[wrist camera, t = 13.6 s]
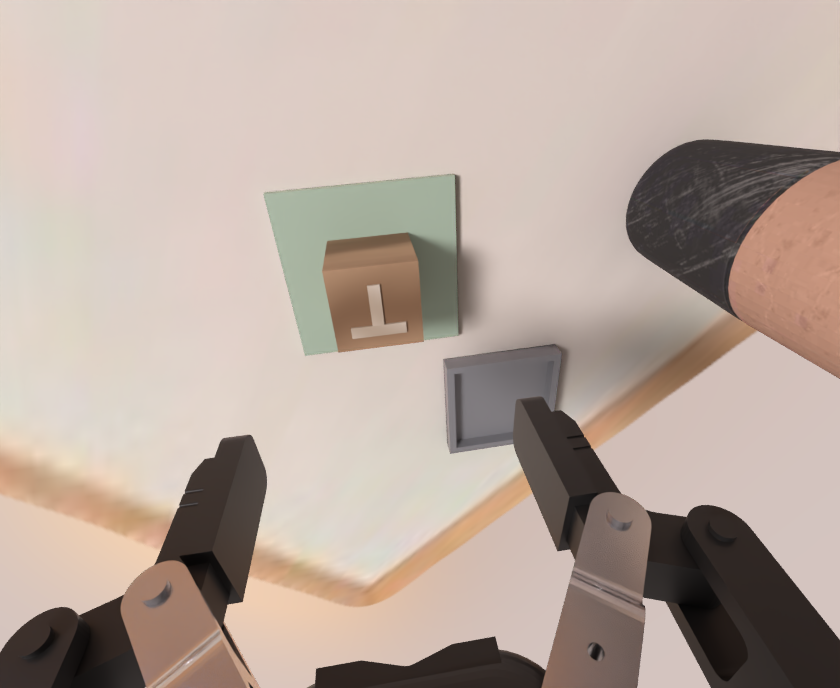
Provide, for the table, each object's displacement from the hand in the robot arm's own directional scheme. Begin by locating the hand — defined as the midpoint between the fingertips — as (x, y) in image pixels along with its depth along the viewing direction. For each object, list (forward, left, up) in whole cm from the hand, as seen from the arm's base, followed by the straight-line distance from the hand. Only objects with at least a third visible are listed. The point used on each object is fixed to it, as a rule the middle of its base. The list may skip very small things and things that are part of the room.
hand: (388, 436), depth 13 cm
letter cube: (0, 0, -14) cm, 14 cm away
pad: (0, 0, -14) cm, 14 cm away
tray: (+11, +8, -14) cm, 20 cm away
